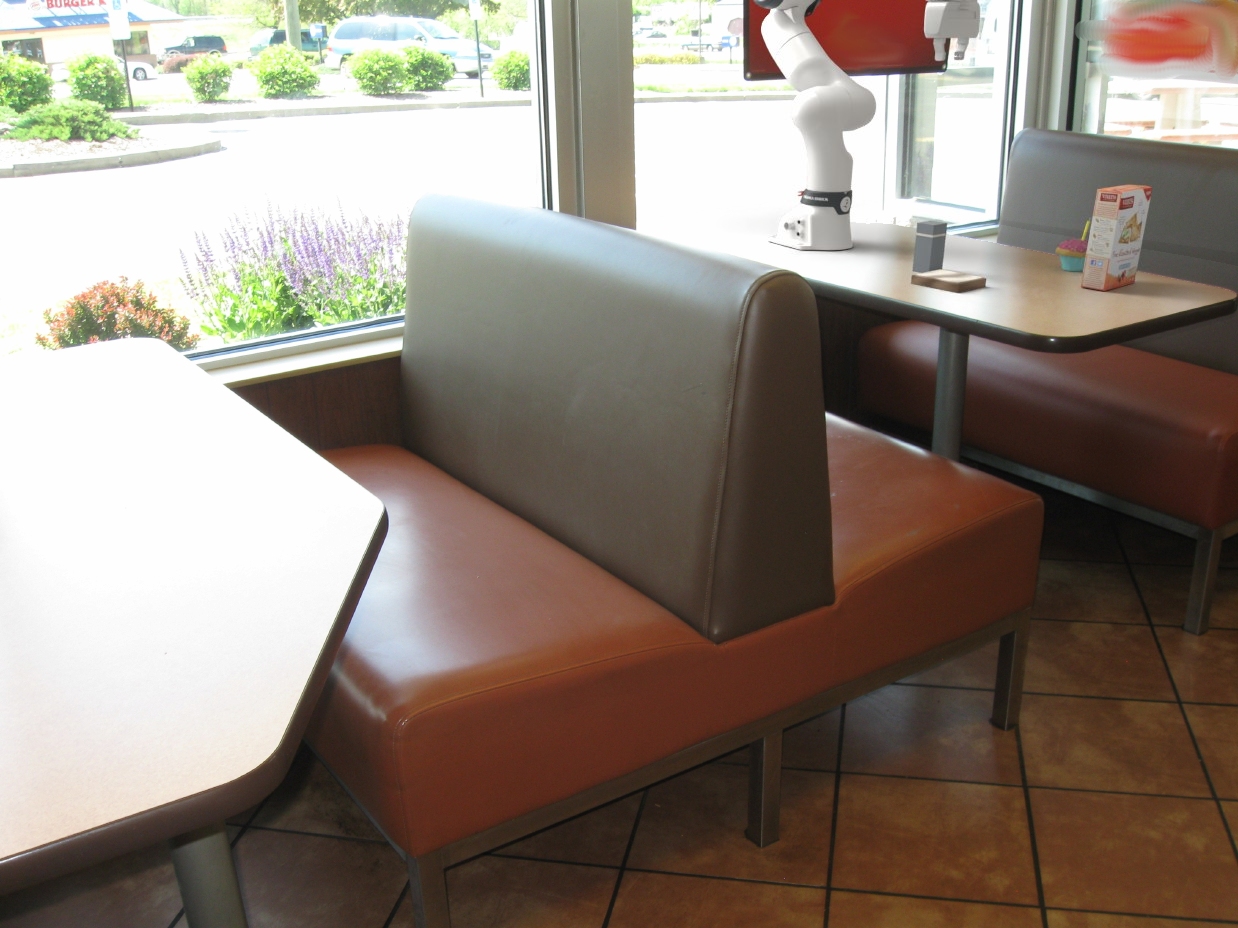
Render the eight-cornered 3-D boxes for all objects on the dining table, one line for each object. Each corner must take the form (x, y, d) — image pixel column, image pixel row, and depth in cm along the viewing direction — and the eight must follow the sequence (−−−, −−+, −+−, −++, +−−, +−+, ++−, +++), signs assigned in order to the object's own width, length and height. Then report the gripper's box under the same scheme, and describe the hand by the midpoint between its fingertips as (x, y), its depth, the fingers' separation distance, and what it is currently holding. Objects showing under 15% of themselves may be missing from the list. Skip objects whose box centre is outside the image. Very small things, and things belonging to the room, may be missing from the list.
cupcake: (1086, 266, 257) (1095, 215, 253) (1097, 274, 249) (1106, 220, 245) (1049, 265, 258) (1056, 214, 254) (1058, 273, 250) (1066, 220, 246)
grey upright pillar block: (912, 271, 252) (916, 222, 248) (925, 268, 255) (930, 220, 251) (928, 274, 248) (933, 225, 244) (942, 271, 251) (947, 223, 247)
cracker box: (1106, 292, 231) (1123, 191, 224) (1079, 288, 235) (1094, 188, 228) (1137, 283, 240) (1154, 185, 232) (1110, 279, 244) (1126, 183, 236)
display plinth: (910, 283, 239) (911, 274, 238) (938, 277, 245) (939, 268, 244) (957, 293, 230) (958, 283, 230) (985, 286, 236) (986, 277, 236)
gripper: (963, -6, 247) (956, 59, 252) (921, -9, 232) (915, 61, 237) (990, -7, 243) (983, 60, 248) (949, -9, 229) (942, 61, 234)
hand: (949, 60), depth 243 cm, fingers open, 8 cm apart
